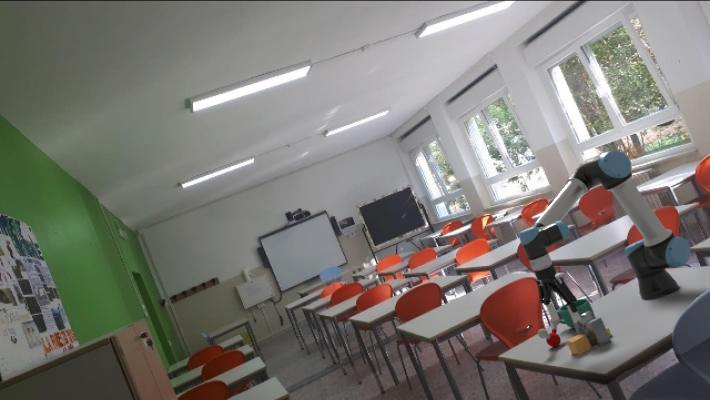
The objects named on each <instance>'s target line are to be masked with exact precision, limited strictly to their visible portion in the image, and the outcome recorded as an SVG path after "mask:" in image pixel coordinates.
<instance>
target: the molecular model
mask: <svg viewBox="0 0 710 400" xmlns="http://www.w3.org/2000/svg"><path fill="white" fill-rule="evenodd" d="M559 319H560V318H559ZM559 319H557V320H556V321H552V319H551V318H550V320H549V321H550V324H551V325H552V326H551V332H550V333H548V330H547V329H545V328H540V329H538V332H537V334H538V337H539V338H540V339H545V340H546V343H547V345H548V346H550V347H553V348H556V347H558V346H559V345H560V344H561V337H560V335H559V334H558V333H557V331H558V329H557V328H558V326H559V324H561V323H560V320H559Z"/></svg>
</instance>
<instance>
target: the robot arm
mask: <svg viewBox="0 0 710 400" xmlns="http://www.w3.org/2000/svg"><path fill="white" fill-rule="evenodd" d="M632 178H633V173H632V161H631V160H630V158H629V156H628V155H627V154H626V153H624V152H622V151H620V150H615V149H613V150H609V151H604V152H603V153H599V154H597V155H595V156H593V157H590V158H587V159H586V160H584V161H583V162H582V163H580V164H579V165H578V166H577V168H576V169H575V170H574V171H573V172H572V174H571V175H570V176H569V177H568V178H567V180H566V183H565V184H566V185H565V186H564V187H563V188H562V189H561V191H560V192H559V193H558V195H557V196H556V197H555V198H554V200H553V201H552V202H551V203H550V204H549V205H548V207H546V209H545V210H544V211H543V212H542V214H541V215H540V216H539V218H538V219H537V220H536V221H535V223H534V224H532V226H531V227H528V228H526V229H524V230H521V231H520V232H519V233H518V237H519V241H520V243H521V244H520V245H521V246H522V248H523V250H524V252H525V255H526V257H527V259H528V261H529V264H530V266H531V268H532V270H534V275H535V278H536V279H537V280H536V285H537V287H538V296H539V302H540V303H541V304H543V305H544V306H545V307H546V309H547V312H548V314H549V316H550V320H551V319H552V321H556V320H557V319H560V317H559V313H557V312H556V308H555V305H554V302H553V301H552V292H554V293H556V294H557V295H558V296H559V297H560V298H561V299H562V300H563V301H564V302H565V303H566V304H567V305H566V306H567V308H568V310H569V312H570V314H571V317H572V319H573V321H574V322H577V321H579V320H580V319H581V318H580V316H579V314H578V311H577V309H576V306H575V304H574V302H575V301H577V300H578V299H577V297H576V295H574V293H573V292H572V290H570V288H569V287H568V285H567V284H566V283H565V281H564V280H563V278H562V277H558V278H557V277H556V275H557V273H558V272H557V270H556V268H555V265H554V264H552V263H553V261H552V258H551V256H550V254H549V252H548V248H550V247H552V246H554V245H556V244H558V243H561V242H564V241H565V240H567V239H569V237H570V235H571V231H570V228H569V226H568V225H567V223H566V222H565V221H562V220H563V219H564V218H565V217H566V216H567V215H568V213H569V212H570V211H571V210H572V208H573V207H574V206H575V204H576V203H577V202H578V201H579V199H580V198H581V197H582V196H585V195H586V194H588V192H589V191H590V190H592V189H594V188H595V187H597V186H600V185H601V186H602V187H603V188H604V190H605V191H607V192H611V193H612V194H613V196H614V198H615V199H616V200H617V202H618V203H619V204H620V206H621V208H622V209H623V210H624V212H625V213H626V215H627V216H628V217H629V219H630V221H632V223H633V225H634V226H635V228H637V230H638V231H639V233H640V234H641V236H642V237H643V239H640V240H638V241H637V240H636V241H635V242H633V243H631V244H629V245H627V246H626V247H625V248H624V252H625V255H626V258H627V260H628V262H629V264H630V266H631V269H632V270H633V272H634V274H635V277H636V278H637V283H638V284H637V285H638V288H639V289H638V290H639V292H638V294H639V295H640V297H641V299H642V298H643V300H652V299H656V298H660V297H663V296H666V295H669V294H671V293H673V292H675V291H676V290H677V289H679V284H678V283H677V281H676V279H674V278H673V276H672V275H671V274H670V273H669V272H668V271H667V270H666V269H670V268H671V269H674V268H677V267H683V266H684V265H685V266H686V264H687V263H688V262H689V261H690V257H691V247H690V244H689V242H688V240H686V239H685V238H684V237H681V236H676V235H675V233H674V231H672V229H669V228H666V227H664V225H663V223H662V222H661V220H660V219H659V218H658V217H657V215H656V213H655V212H654V210H653V209H652V208H651V206H650V205H649V204H648V202H647V201H646V199H645V198H644V196H643V195H642V193H641V192H640V190H639V189H638V188H637V186H636V184H635V183H634V182H633V181H632Z"/></svg>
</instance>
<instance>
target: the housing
mask: <svg viewBox="0 0 710 400" xmlns="http://www.w3.org/2000/svg"><path fill="white" fill-rule="evenodd" d="M580 318H581V319H580V320H579V321H577V322H572V323H573V325H574V327H575V328H574V329H575V331H576V335H578V334H580V335H586V336H587V338H588V340H589V339H591V338H593V337H594V340H595V342H596V343H595V344H596V346H597V347H602V346H603V345H605V344H608V343H609V342H610V341H612V339H611V336H610V337H609V334H608V332H607V330H606V328H607V327H606V326H605V324H604V321H603V319H602V317H599V316H598V317H597V316H596V315H595V313H594V314H593V313H592V312H590V311H587V312H585V313H583V314H582V315H580Z"/></svg>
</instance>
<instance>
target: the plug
mask: <svg viewBox="0 0 710 400" xmlns="http://www.w3.org/2000/svg"><path fill="white" fill-rule="evenodd" d="M605 328H606V330H607V332H608V334H609V337H610V338H611V336H613V335H612V332H611V330H610V328H609V327H605ZM595 344H596V342H595V340H594V337H593V338H591V339H589V340H588V338H587V336H586V335H580V334H576V335H575V336H573V337H571V338H569V339H567V340H566V345H567V346H568V348H569V349H568V350H570V352H571V355H581V354H582V353H585V352H586V351H588V350H591V348H592V345H595Z"/></svg>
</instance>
